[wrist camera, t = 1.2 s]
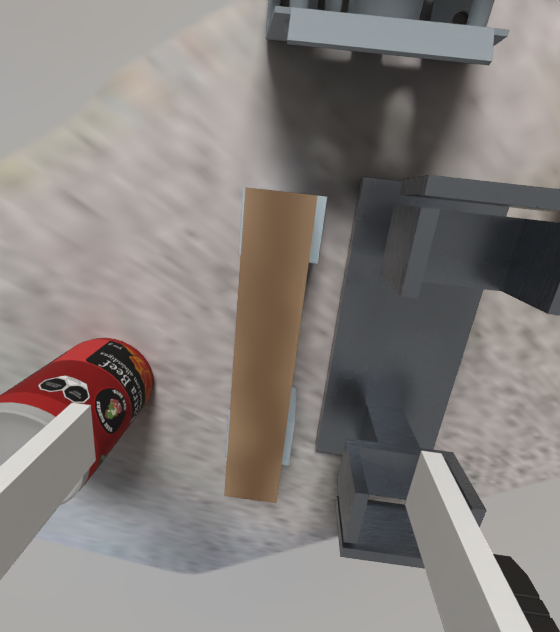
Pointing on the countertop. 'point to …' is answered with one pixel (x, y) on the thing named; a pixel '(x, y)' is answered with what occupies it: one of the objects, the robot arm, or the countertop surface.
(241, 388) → the rail
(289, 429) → the rest block
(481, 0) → the bracket
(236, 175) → the countertop surface
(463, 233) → the bracket
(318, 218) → the rest block
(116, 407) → the canned food
